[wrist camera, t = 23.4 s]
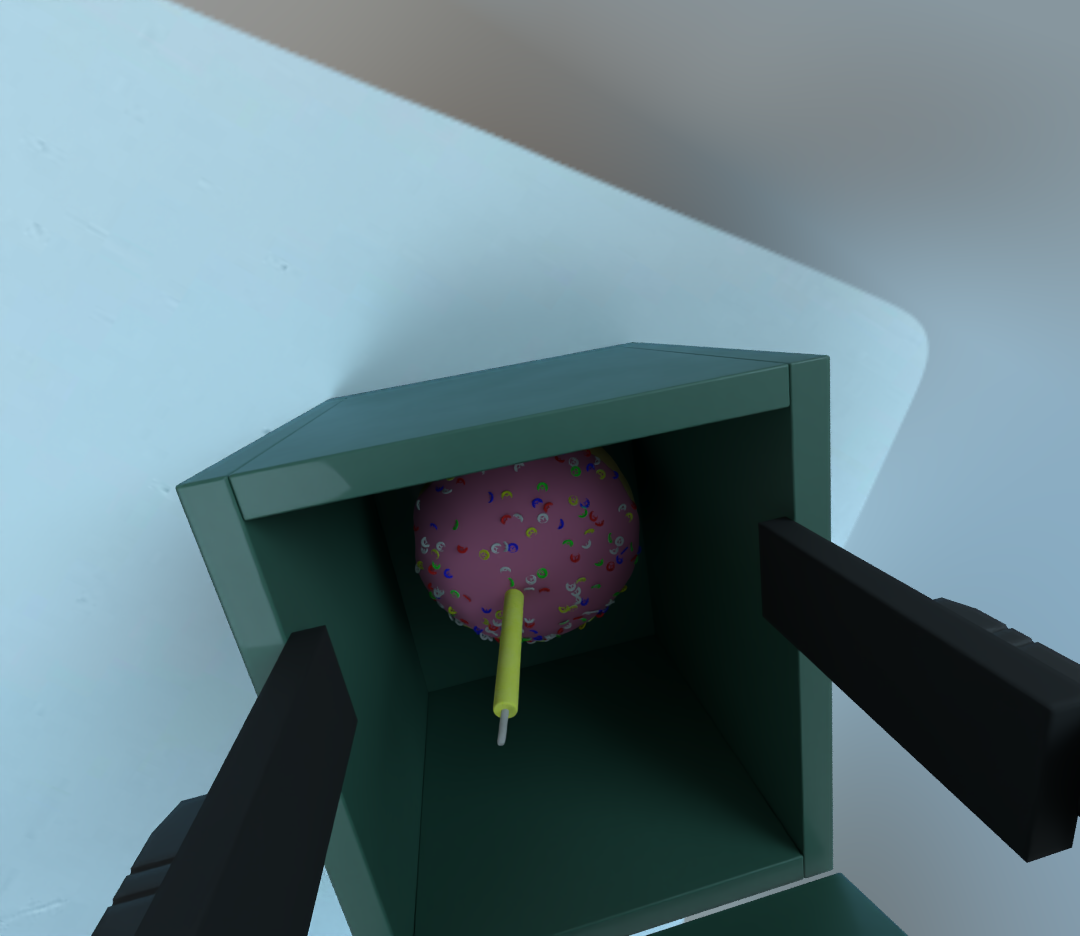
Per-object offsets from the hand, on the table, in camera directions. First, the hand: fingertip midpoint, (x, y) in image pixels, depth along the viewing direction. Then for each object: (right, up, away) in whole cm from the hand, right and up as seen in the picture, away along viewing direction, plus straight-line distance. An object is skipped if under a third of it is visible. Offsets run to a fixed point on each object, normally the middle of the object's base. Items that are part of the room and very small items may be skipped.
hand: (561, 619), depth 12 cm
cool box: (-2, +1, +13) cm, 13 cm away
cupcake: (-1, +3, +11) cm, 12 cm away
